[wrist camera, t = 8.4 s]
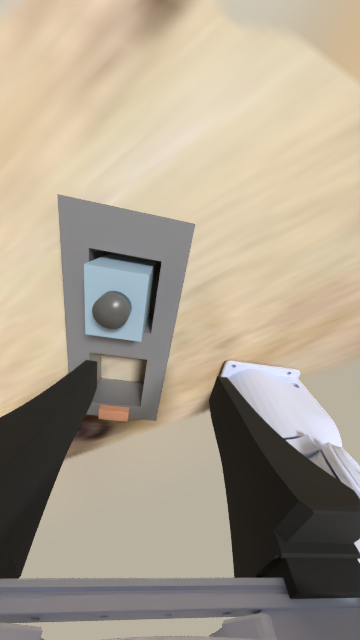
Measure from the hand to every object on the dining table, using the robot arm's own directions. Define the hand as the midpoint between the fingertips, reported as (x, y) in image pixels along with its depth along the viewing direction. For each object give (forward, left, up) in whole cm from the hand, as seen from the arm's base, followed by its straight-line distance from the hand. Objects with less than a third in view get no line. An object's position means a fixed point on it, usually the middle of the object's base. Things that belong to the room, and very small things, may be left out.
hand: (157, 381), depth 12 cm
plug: (+4, -3, -9) cm, 10 cm away
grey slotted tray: (+4, +1, -9) cm, 10 cm away
